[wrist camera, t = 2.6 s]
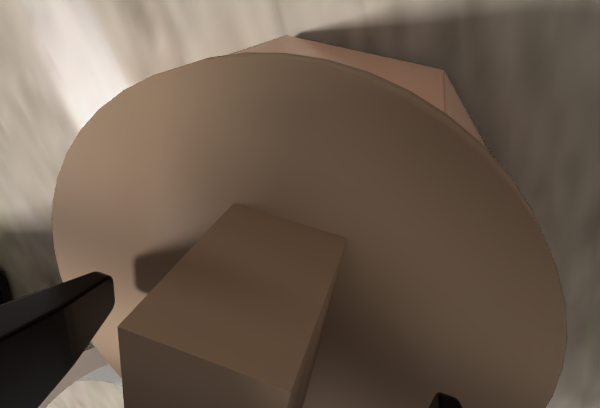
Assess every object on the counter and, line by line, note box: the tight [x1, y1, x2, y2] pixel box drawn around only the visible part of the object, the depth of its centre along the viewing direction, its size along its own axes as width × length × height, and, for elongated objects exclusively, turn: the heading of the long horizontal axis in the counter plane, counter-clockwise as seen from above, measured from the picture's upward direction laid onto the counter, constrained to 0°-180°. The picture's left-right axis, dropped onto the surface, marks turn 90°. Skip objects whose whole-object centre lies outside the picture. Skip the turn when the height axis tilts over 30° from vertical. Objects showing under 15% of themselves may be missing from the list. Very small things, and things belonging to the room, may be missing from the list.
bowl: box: [228, 35, 488, 150], centre depth 13 cm, size 11×11×5 cm
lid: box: [52, 52, 567, 408], centre depth 9 cm, size 12×12×4 cm
